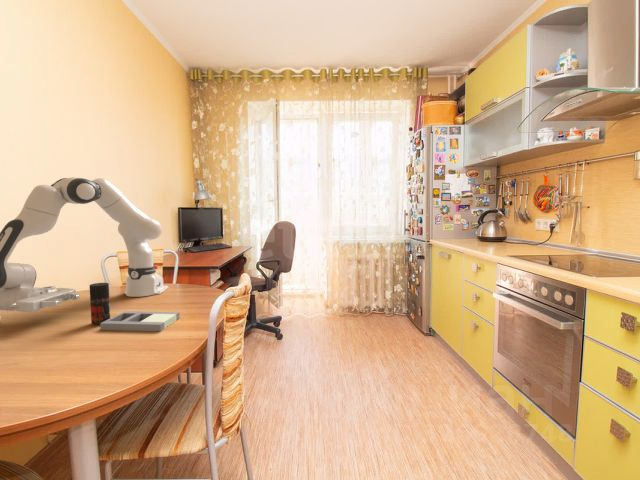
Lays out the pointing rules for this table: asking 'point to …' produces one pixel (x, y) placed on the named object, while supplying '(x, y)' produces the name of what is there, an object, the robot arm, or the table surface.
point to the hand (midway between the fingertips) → (68, 300)
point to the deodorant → (99, 303)
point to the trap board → (140, 321)
